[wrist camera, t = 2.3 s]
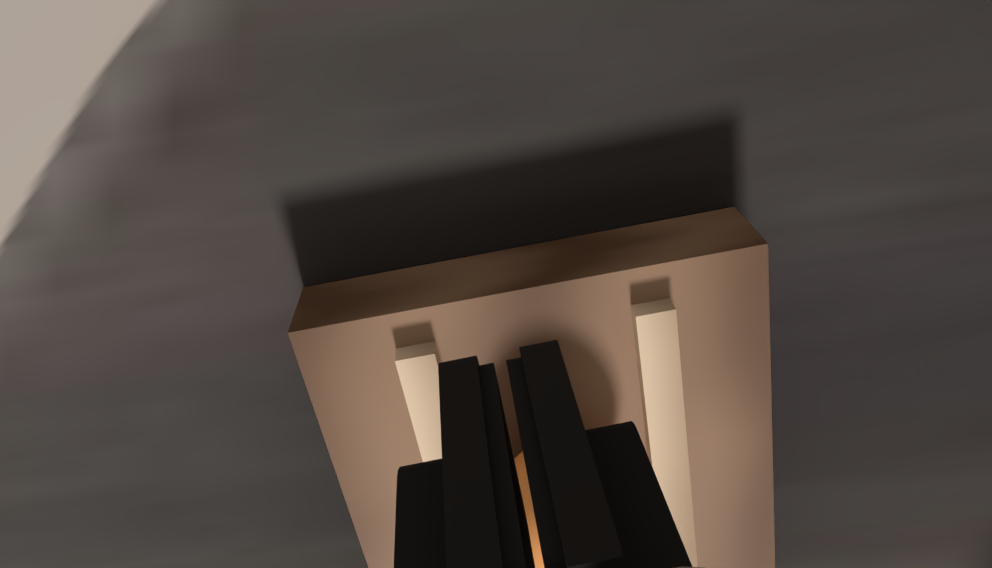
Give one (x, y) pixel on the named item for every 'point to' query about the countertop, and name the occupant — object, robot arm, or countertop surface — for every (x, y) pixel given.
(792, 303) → the countertop surface
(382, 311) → the runway
